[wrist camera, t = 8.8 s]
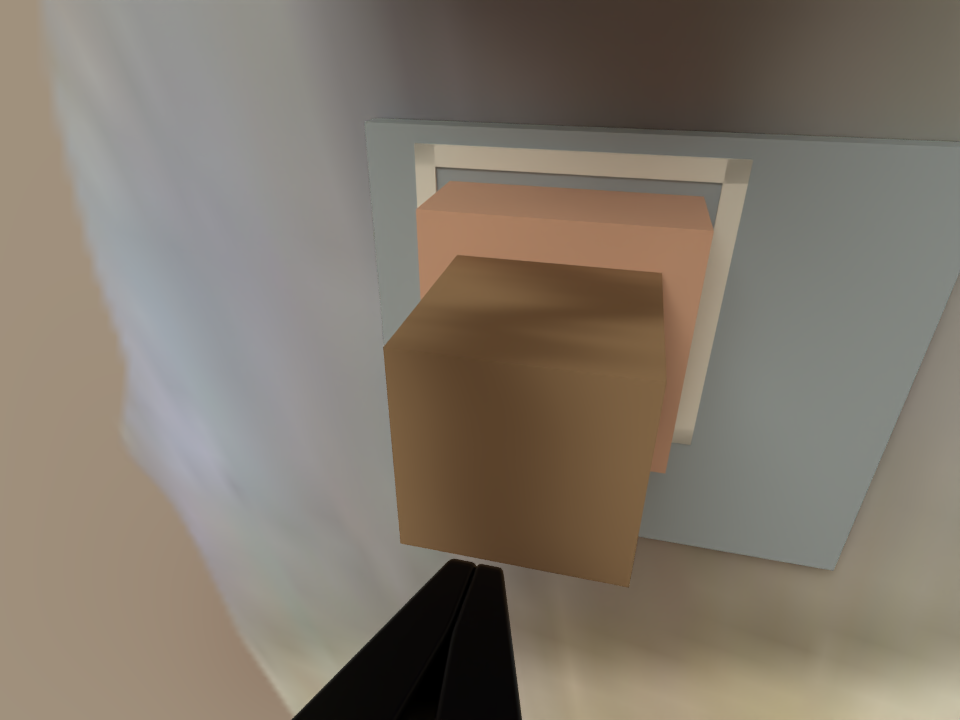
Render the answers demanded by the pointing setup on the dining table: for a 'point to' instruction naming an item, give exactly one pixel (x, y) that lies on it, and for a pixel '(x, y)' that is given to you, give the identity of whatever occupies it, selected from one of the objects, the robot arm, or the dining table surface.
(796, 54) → the dining table surface
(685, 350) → the terracotta base
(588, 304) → the walnut cube
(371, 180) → the grey flat slab
